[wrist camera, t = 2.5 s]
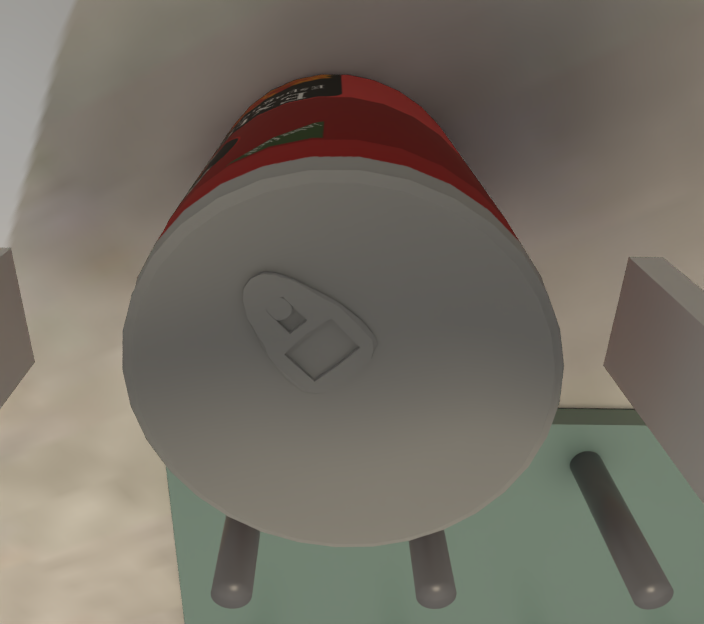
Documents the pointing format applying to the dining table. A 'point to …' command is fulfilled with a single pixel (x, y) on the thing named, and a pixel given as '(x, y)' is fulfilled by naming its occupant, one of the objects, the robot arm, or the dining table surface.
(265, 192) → the canned food
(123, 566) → the dining table surface
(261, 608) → the rack
